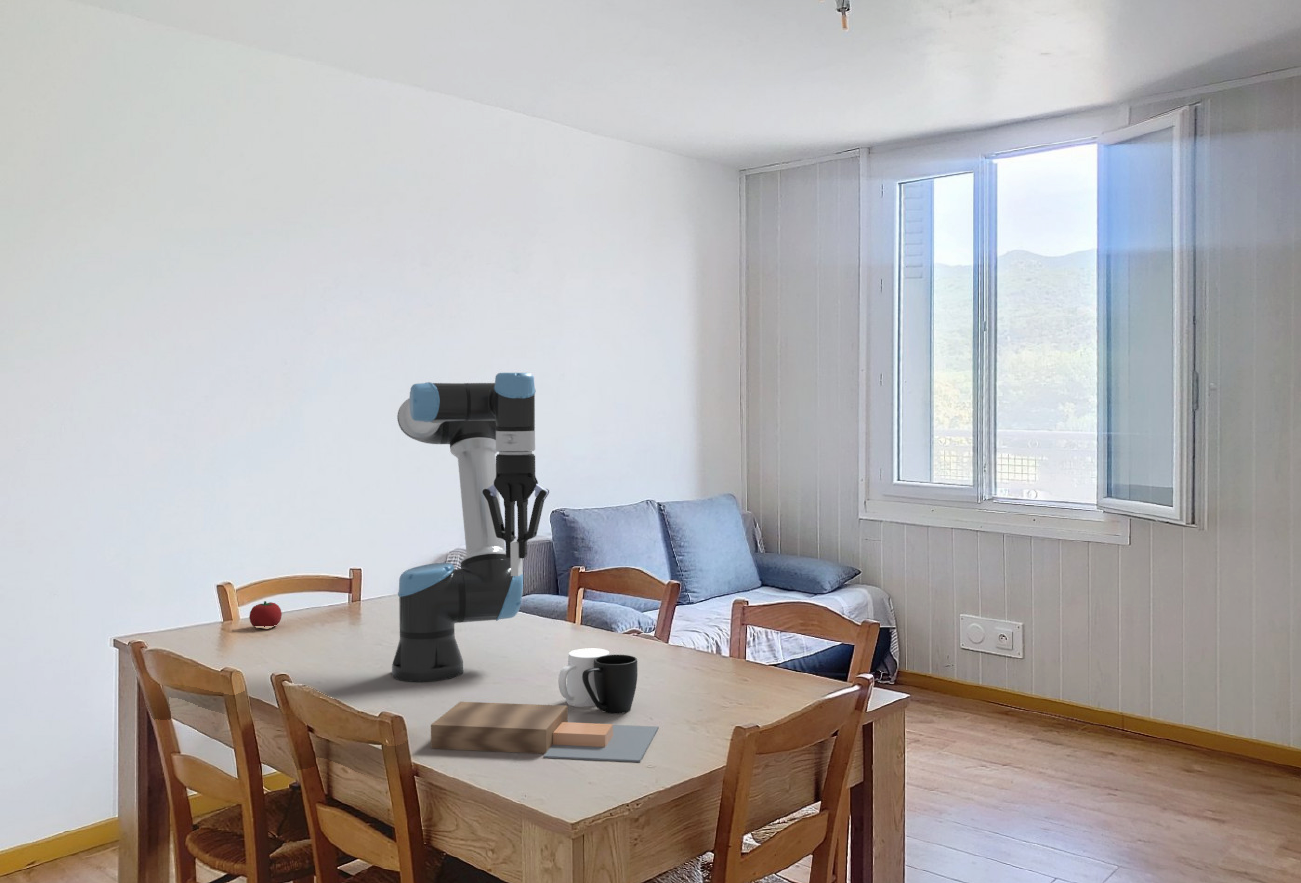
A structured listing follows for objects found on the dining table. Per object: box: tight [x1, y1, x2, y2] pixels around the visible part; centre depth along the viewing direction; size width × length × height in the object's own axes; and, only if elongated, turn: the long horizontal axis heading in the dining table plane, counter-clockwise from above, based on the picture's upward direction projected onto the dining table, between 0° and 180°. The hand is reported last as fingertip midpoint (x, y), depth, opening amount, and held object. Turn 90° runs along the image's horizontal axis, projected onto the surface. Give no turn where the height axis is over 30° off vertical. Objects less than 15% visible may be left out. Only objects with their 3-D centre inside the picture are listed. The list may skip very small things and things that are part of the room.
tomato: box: [248, 601, 283, 627], centre depth 275 cm, size 8×8×7 cm
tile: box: [553, 721, 614, 747], centre depth 176 cm, size 9×6×2 cm, turn 80°
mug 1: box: [558, 647, 610, 708], centre depth 201 cm, size 12×9×8 cm
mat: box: [542, 724, 660, 763], centre depth 176 cm, size 16×18×1 cm
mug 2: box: [582, 654, 638, 715], centre depth 194 cm, size 8×12×10 cm
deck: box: [430, 701, 569, 755], centre depth 179 cm, size 20×14×4 cm
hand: (516, 574), depth 200 cm, fingers closed
